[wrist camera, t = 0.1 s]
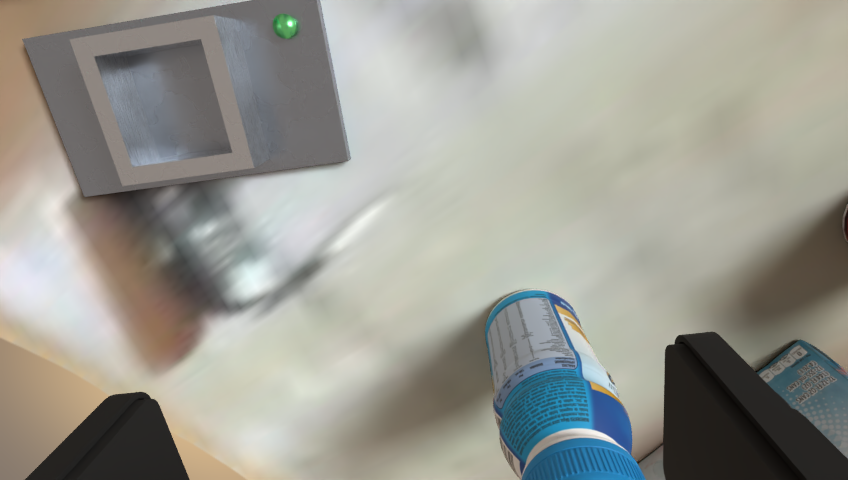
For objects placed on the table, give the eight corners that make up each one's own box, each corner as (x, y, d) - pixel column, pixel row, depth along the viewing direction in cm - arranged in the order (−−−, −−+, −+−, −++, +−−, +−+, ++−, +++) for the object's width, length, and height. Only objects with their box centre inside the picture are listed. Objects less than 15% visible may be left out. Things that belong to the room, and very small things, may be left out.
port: (33, 39, 37) (-21, 37, 32) (318, -9, 35) (300, -18, 31) (92, 193, 41) (51, 209, 36) (350, 158, 39) (339, 170, 35)
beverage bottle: (501, 272, 42) (548, 447, 23) (594, 300, 42) (713, 492, 24) (470, 353, 45) (488, 567, 26) (556, 378, 45) (636, 604, 26)
